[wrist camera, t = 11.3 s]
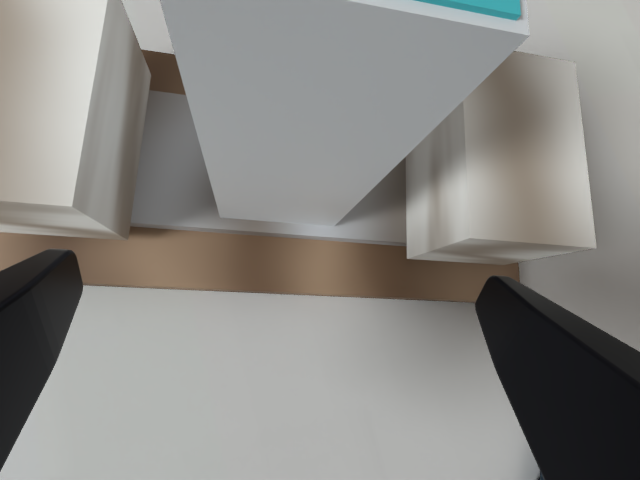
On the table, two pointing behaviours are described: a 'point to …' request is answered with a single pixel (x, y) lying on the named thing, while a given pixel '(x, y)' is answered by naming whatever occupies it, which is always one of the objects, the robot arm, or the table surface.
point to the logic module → (326, 91)
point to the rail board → (264, 236)
